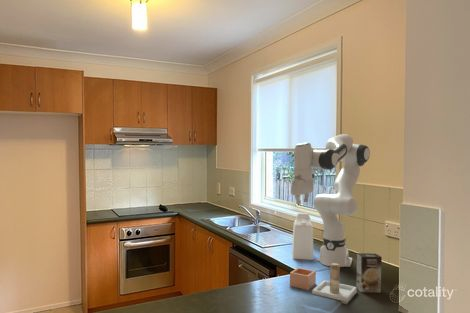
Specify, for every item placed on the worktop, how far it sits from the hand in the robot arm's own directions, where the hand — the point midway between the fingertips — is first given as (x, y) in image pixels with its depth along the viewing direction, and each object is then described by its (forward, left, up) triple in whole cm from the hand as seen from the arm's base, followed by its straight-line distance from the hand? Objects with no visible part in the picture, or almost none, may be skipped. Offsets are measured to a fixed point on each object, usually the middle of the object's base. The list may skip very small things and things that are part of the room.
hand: (302, 203), depth 181 cm
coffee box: (-2, +32, -37) cm, 49 cm away
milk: (-35, -14, -37) cm, 53 cm away
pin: (+12, +21, -36) cm, 43 cm away
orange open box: (+12, +6, -37) cm, 39 cm away
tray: (+12, +21, -37) cm, 44 cm away
